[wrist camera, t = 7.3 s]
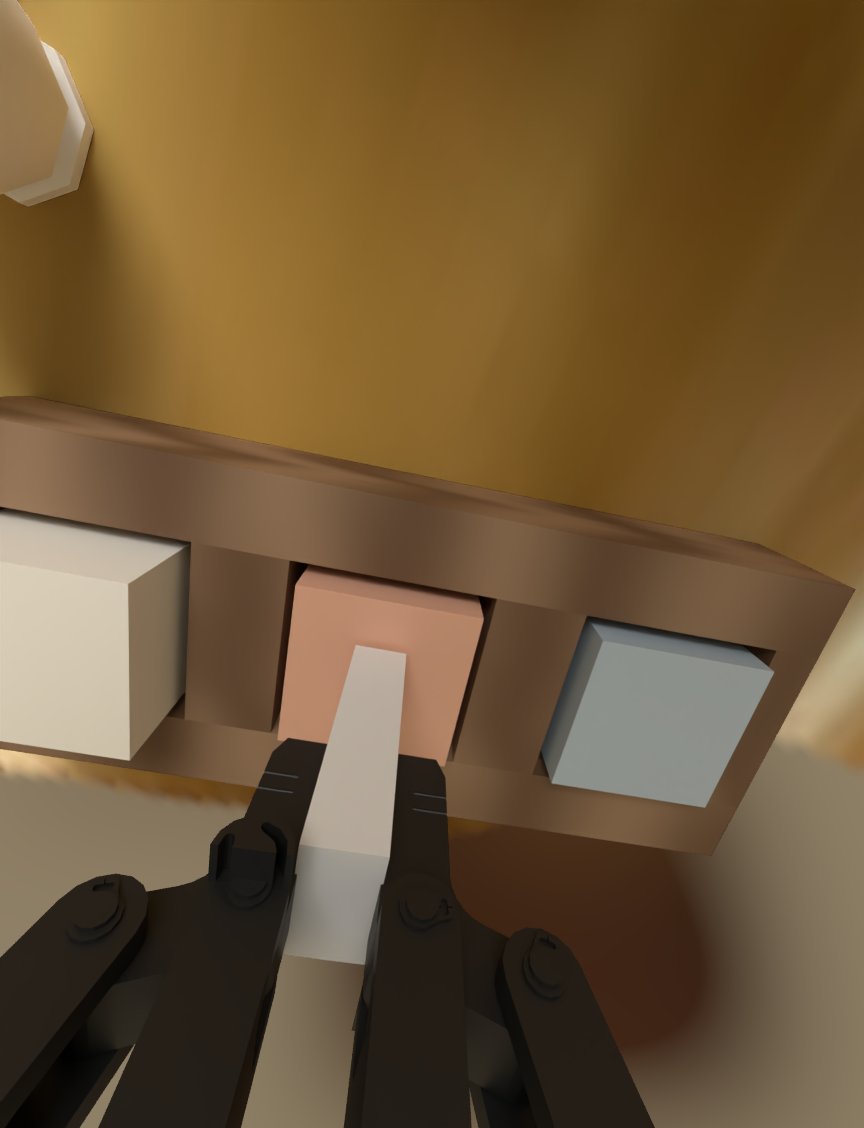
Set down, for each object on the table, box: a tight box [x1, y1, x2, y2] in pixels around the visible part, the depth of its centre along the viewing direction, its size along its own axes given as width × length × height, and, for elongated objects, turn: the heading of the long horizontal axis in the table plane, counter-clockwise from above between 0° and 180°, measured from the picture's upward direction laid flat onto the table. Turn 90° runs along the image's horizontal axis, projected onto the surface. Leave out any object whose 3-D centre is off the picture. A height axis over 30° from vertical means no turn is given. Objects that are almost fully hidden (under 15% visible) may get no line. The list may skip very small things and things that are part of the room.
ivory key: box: [0, 508, 191, 761], centre depth 14 cm, size 5×5×4 cm
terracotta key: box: [277, 564, 484, 767], centre depth 17 cm, size 5×5×4 cm
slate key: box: [541, 616, 774, 808], centre depth 17 cm, size 5×5×4 cm
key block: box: [0, 396, 855, 856], centre depth 17 cm, size 27×11×4 cm, turn 78°
